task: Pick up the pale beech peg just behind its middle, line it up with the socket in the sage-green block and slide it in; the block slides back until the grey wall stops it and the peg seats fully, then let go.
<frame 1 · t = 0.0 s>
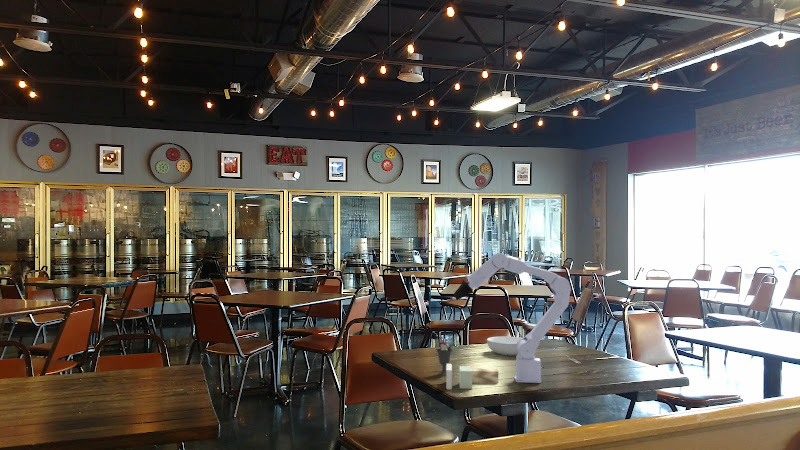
hand: (455, 297, 229), 32 cm above the table, tool tilted 50°, fingers open, 7 cm apart
wall: (449, 385, 218), on the table
block: (465, 377, 217), point 3 cm above the table, slide at 0.0 cm
sundae: (443, 374, 236), on the table
peg: (482, 381, 225), on the table
serving bowl: (508, 354, 278), on the table
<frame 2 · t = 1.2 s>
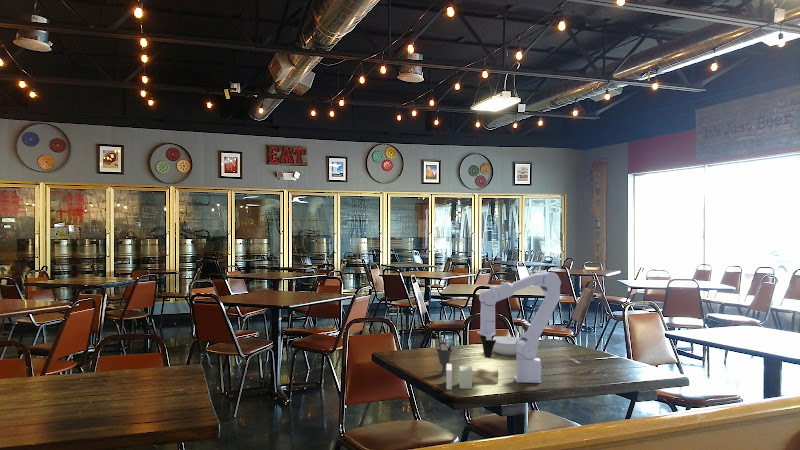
hand: (487, 355, 225), 10 cm above the table, tool pointing down, fingers open, 7 cm apart
nothing on the table moved.
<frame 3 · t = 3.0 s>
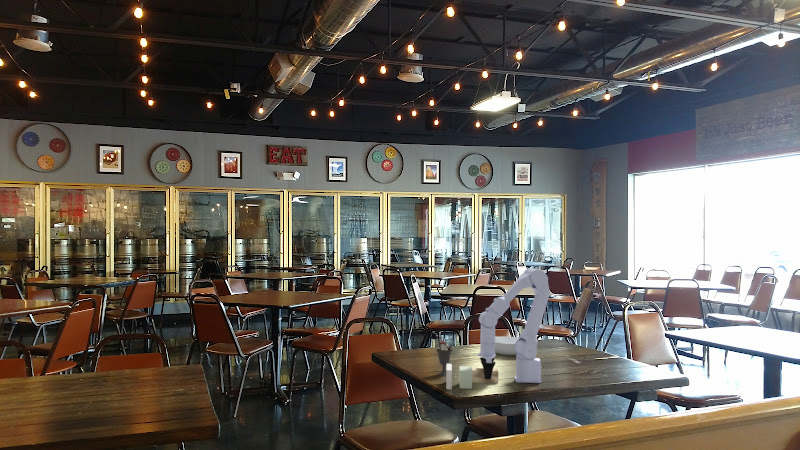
hand: (487, 377, 225), 1 cm above the table, tool pointing down, fingers closed on peg, 4 cm apart
peg: (482, 381, 225), on the table, touching gripper
everything else where it was.
when the fingers open (2 cm above the table, at t = 9.1 s): peg stays where it is, on the table.
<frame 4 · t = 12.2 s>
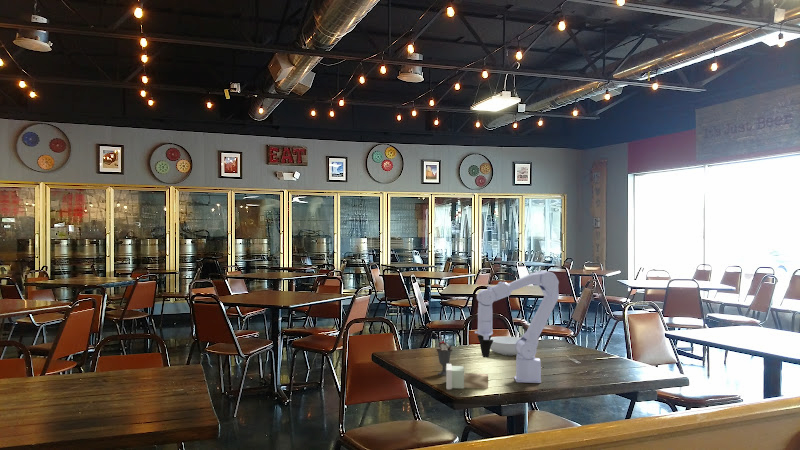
hand: (484, 355, 226), 10 cm above the table, tool pointing down, fingers open, 7 cm apart
block: (457, 376, 218), point 3 cm above the table, slide at 3.0 cm, touching wall
peg: (471, 386, 217), on the table
everything else where it was.
at the end: block slide at 3.0 cm; peg 0.0 cm from the target spot, on the table; the gripper is holding nothing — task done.
